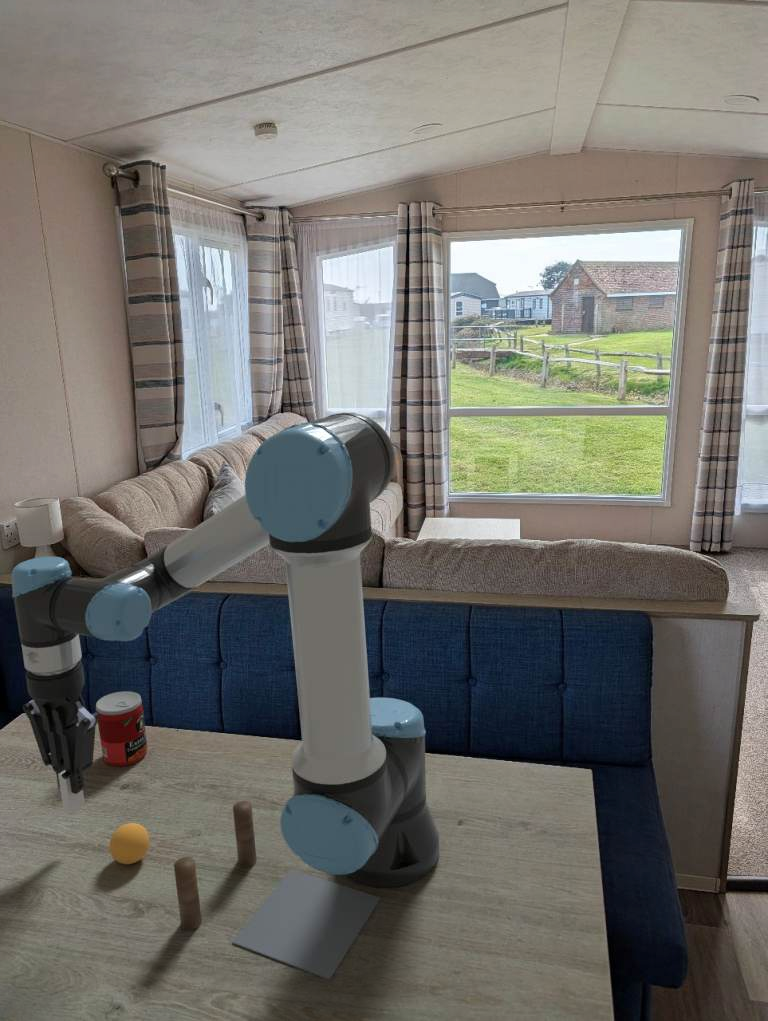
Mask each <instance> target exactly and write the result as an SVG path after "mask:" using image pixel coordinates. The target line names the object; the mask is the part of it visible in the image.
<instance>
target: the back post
mask: <svg viewBox="0 0 768 1021" xmlns="http://www.w3.org/2000/svg"><path fill="white" fill-rule="evenodd" d="M232 806H233V807H232V811H233V823H234V831H235V833H234V834H235V842H236V843H235V844H236V851H237V852H236V853H237V862H238V865H239V866H240V867H243V868H247V867H251V866H253V865H255V864H256V862H257V851H256V850H257V849H256V840H255V830H254V829H255V828H254V819H253V807H252V803H251V802H250V801H247V800H241V801H238V802H236V803H235V804H234V805H232Z"/></svg>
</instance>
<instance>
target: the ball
mask: <svg viewBox="0 0 768 1021" xmlns="http://www.w3.org/2000/svg"><path fill="white" fill-rule="evenodd" d="M149 846H150V836H149V833H148V830H147V829H146V827H144V826H143V825H142V824H139V823H136V822H128V823H125V824H122V825H121V826H119V827H118V828H117V829H116V830H115V831H114V833H113V834H112V836H111V838H110V841H109V852H110V854H111V856H112V858H113V859H114V860H115V861H117V862H118V863H119V864H123V865H130V864H131V865H132V864H135V863H137V862H138V861H141V859H143V858H144V856H145V855H146V854H147V852H148V851H149V850H148V849H149Z"/></svg>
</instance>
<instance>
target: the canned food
mask: <svg viewBox="0 0 768 1021" xmlns="http://www.w3.org/2000/svg"><path fill="white" fill-rule="evenodd" d="M95 712H96V713H98V714H99V717H100V718H99V720H98V722H97V725H98V732H99V733H98V734H99V740H100V746H101V754H102V758H103V760H104V762H105V763H106V764H107V765H109V766H112V767H127V765H128V766H130V765H133V764H137V763H138V762H140V761H141V760H142V759H144V758H145V756H146V755H147V753H148V740H147V733H146V727H145V726H146V724H145V715H144V709H143V702H142V698H141V695H140V694H139V693H137V692H134V691H116V692H113V693H109V694H107V695H104V696H102V697H101V698H99V699H98V700H97V701H96V704H95ZM143 757H144V758H143ZM139 760H140V761H139Z"/></svg>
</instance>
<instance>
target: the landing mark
mask: <svg viewBox="0 0 768 1021" xmlns="http://www.w3.org/2000/svg"><path fill="white" fill-rule="evenodd" d="M380 900H381V896H378V895H377V896H376V895H374V894H370V893H368V892H364V891H362V890H357V889H355V888H351V887H348V886H345V885H342V884H339V883H335V882H333V881H329V880H325V879H323V878H319V877H318V876H317V877H316V876H314V875H310V874H308V873H304V872H301V871H297V870H296V869H295V870H294V869H290V870H289V872H288V873H287V874H286V875H285V876H284V877H283V879H282V880H281V881H280V882H279V884H278V885H277V886H276V887H275V888H274V889H273V891H272V892H271V893H270V895H269V896H268V898H266V900H265V901H264V902H263V903H262V905H261V906H260V907H259V908H258V910H256V912H255V913H254V915H253V916H252V917H251V918H250V919H249V920H248V922H247V923H246V924H245V925H244V927H243V928H242V929H241V930H240V932H239V933H238V934H237V936H236V937H235V938H234V939H233V941H232V942H231V943H232V944H233V945H235V946H238V947H241V948H244V949H247V950H248V951H249V950H250V951H252V952H254V953H257V954H259V955H262V956H264V957H268V958H270V959H273V960H275V961H278V962H281V963H283V964H286V965H288V966H291V967H294V968H296V969H299V970H302V971H304V972H307V973H310V974H312V975H315V976H317V977H321V978H323V979H326V980H329V981H330V980H331V979H332V978H333V976H334V974H335V973H336V971H337V969H338V968H339V966H340V964H341V963H342V961H343V959H344V958H345V956H346V955H347V953H348V951H349V949H350V948H351V946H352V944H353V943H354V942H355V940H356V939H357V937H358V936H359V934H360V932H361V930H362V929H363V927H364V925H365V924H366V922H367V921H368V919H369V917H370V916H371V914H372V913H373V911H374V909H375V908H376V906H377V904H378V903H379V902H380Z"/></svg>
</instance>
